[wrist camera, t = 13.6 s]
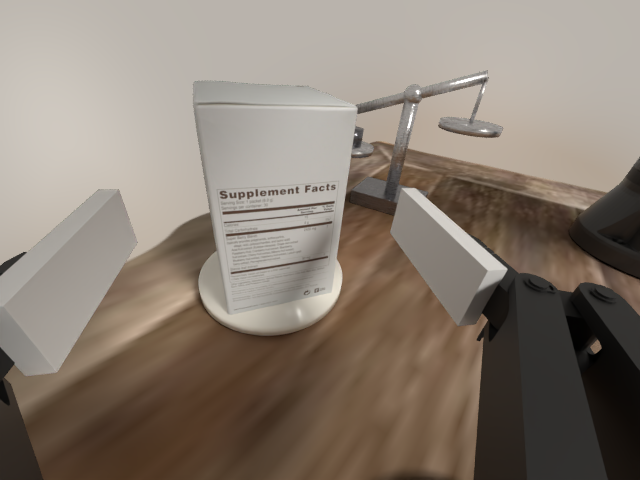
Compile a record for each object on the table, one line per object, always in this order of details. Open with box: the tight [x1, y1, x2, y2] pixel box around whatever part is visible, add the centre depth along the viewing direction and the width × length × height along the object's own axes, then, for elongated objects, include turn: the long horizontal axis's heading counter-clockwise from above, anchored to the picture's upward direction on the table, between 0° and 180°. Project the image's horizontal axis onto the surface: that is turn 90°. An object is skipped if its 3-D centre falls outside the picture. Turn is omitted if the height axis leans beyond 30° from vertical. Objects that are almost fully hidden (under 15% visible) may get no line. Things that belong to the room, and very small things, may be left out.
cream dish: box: [198, 251, 342, 336], centre depth 26 cm, size 13×13×1 cm
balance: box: [350, 71, 503, 216], centre depth 38 cm, size 22×7×18 cm, turn 61°
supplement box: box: [193, 81, 358, 315], centre depth 22 cm, size 9×9×15 cm
